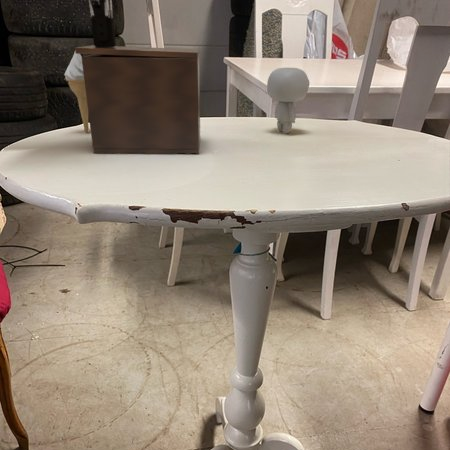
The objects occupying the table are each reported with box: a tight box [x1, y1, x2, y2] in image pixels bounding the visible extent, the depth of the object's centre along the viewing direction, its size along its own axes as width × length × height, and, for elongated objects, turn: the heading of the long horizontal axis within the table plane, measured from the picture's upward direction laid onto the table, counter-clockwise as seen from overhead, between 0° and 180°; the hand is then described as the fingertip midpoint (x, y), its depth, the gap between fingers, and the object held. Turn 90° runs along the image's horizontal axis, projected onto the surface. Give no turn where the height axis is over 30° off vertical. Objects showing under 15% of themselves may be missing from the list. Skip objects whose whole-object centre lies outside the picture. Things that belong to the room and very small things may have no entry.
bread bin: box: [82, 54, 201, 155], centre depth 80 cm, size 18×13×14 cm
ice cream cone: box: [63, 51, 90, 133], centre depth 90 cm, size 6×6×15 cm
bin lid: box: [74, 44, 200, 58], centre depth 76 cm, size 18×13×1 cm
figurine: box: [266, 67, 310, 134], centre depth 94 cm, size 8×8×12 cm
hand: (105, 46), depth 76 cm, fingers closed
